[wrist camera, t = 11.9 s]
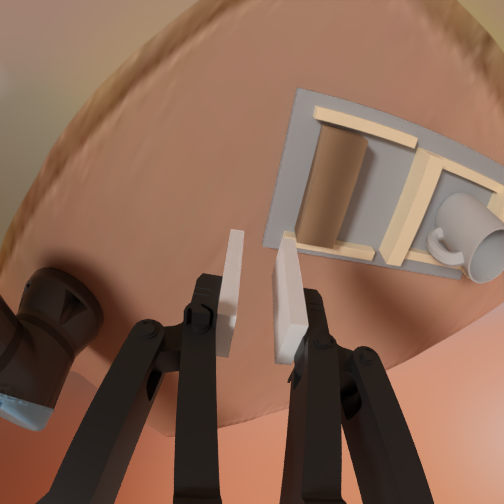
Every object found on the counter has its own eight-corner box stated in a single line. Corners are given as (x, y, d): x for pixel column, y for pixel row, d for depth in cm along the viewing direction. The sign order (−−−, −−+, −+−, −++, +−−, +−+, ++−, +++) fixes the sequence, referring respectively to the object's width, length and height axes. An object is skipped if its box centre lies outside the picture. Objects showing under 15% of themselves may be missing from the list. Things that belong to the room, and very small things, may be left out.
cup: (476, 231, 33) (511, 270, 26) (416, 254, 36) (445, 300, 28) (476, 184, 30) (518, 218, 22) (411, 205, 32) (446, 248, 25)
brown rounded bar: (294, 228, 34) (296, 242, 32) (321, 123, 28) (327, 129, 25) (327, 234, 34) (333, 249, 32) (359, 133, 28) (368, 140, 25)
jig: (262, 241, 37) (262, 261, 33) (296, 87, 27) (302, 89, 23) (456, 275, 39) (468, 292, 35) (506, 167, 29) (524, 179, 25)
